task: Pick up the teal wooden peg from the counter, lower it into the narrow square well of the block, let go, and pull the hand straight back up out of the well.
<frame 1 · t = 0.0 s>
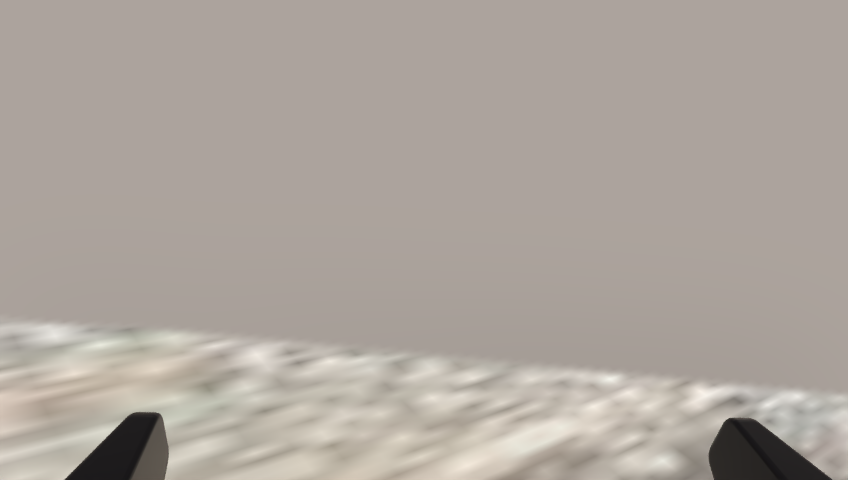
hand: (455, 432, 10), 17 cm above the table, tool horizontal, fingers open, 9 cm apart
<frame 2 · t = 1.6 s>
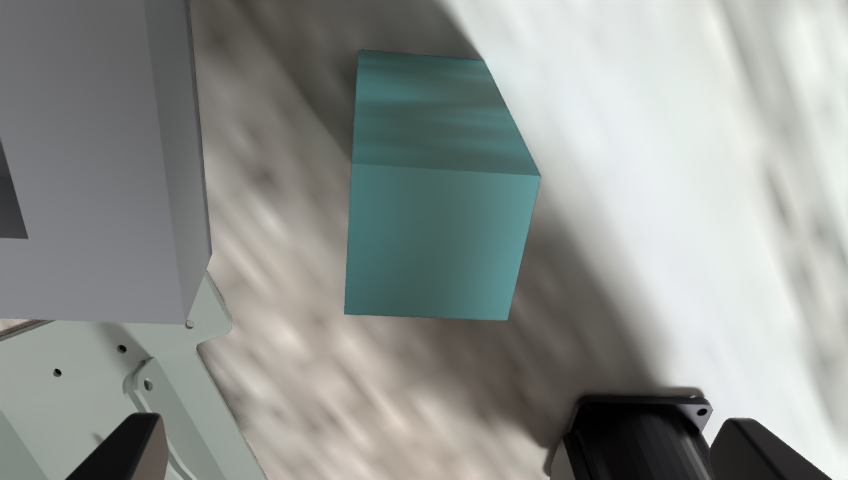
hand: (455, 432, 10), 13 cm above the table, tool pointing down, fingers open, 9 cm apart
metal bracket: (133, 409, 28), on the table
teal peg: (415, 114, 21), on the table
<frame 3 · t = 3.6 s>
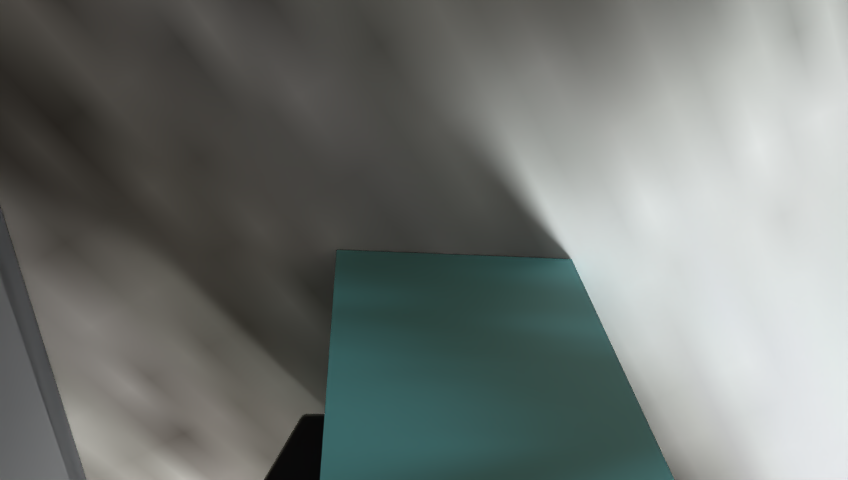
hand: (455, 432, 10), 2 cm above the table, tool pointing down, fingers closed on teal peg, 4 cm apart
teal peg: (442, 342, 12), on the table, touching gripper
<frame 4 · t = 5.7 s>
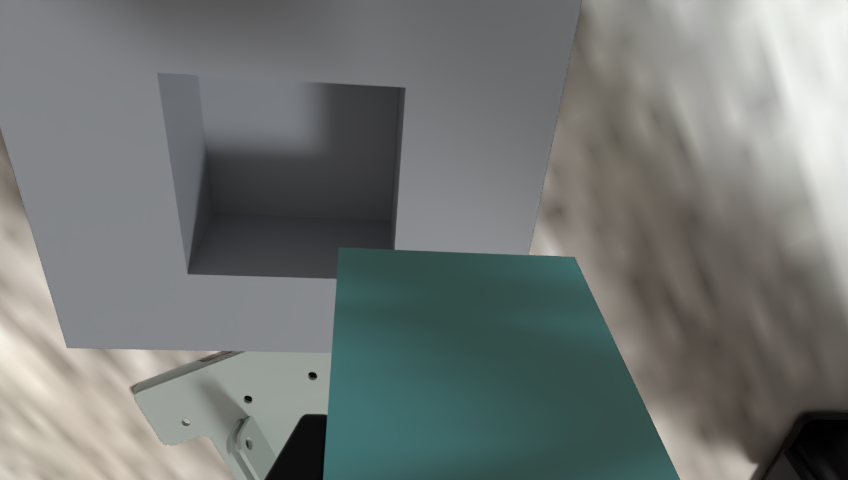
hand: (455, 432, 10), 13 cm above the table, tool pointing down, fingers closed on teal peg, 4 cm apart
metal bracket: (360, 412, 29), on the table
teal peg: (445, 341, 12), point 11 cm above the table, touching gripper
well block: (303, 129, 20), on the table
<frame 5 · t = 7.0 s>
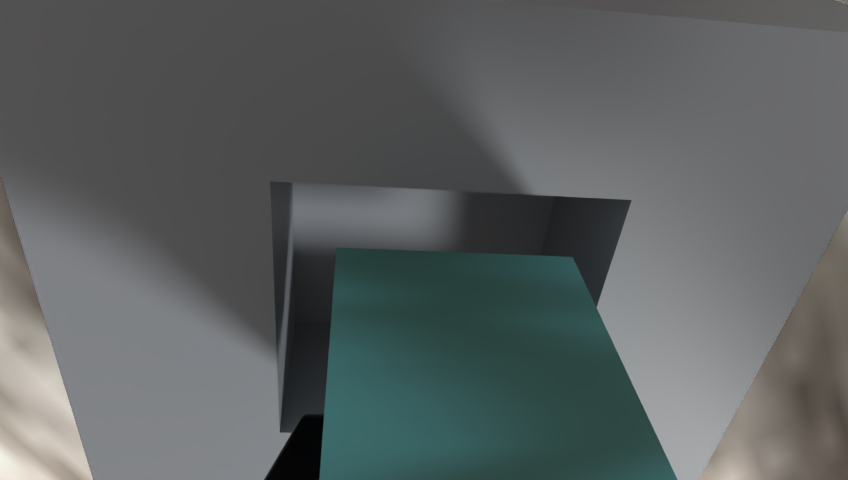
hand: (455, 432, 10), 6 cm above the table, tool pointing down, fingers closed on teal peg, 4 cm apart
teal peg: (443, 341, 12), point 4 cm above the table, touching gripper
well block: (421, 218, 15), on the table
when the fingers open (5 cm above the table, at t = 8.0 s): teal peg drops 2 cm, resting on well block.
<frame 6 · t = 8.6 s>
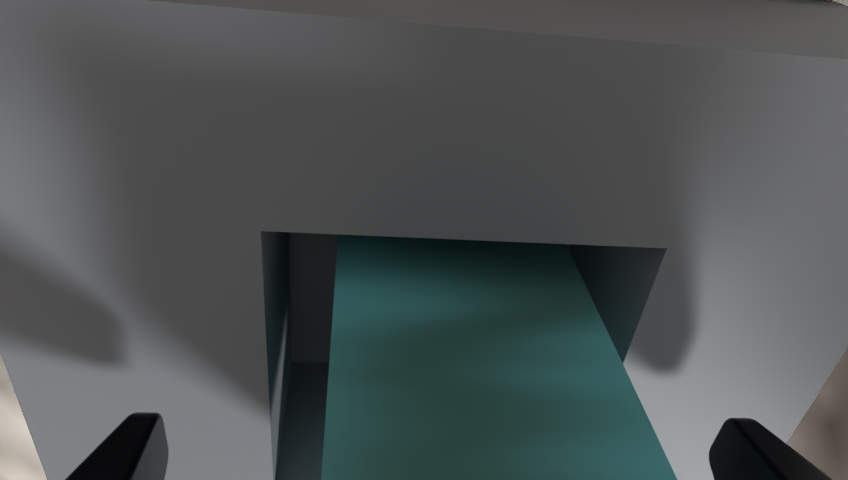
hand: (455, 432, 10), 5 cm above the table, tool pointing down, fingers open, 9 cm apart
teal peg: (431, 263, 14), resting on well block
well block: (427, 252, 14), on the table
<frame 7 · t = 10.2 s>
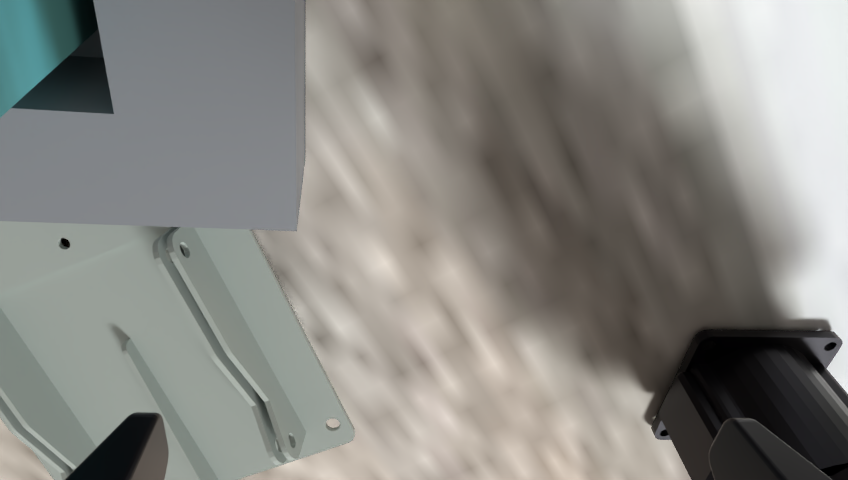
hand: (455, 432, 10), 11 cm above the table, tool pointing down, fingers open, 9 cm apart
metal bracket: (156, 305, 23), on the table
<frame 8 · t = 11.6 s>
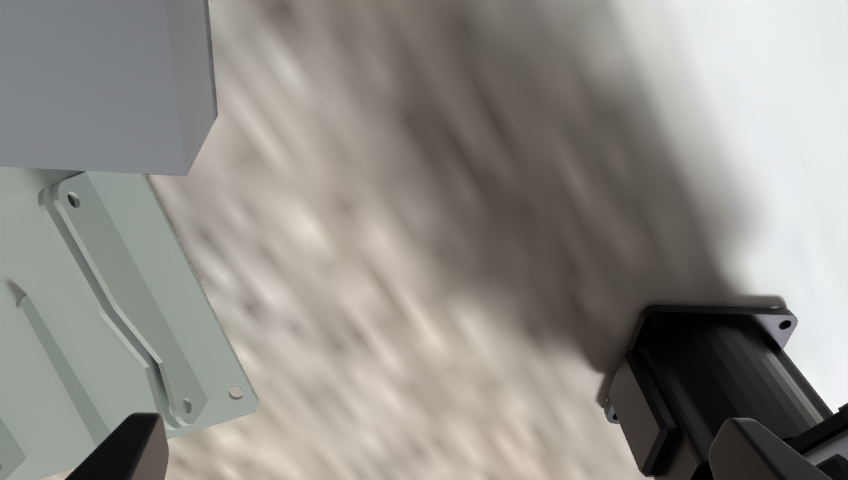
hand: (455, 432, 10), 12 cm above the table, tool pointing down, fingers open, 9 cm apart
metal bracket: (66, 266, 23), on the table, touching well block
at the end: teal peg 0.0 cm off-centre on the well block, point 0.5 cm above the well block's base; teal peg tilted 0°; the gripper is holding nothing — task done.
